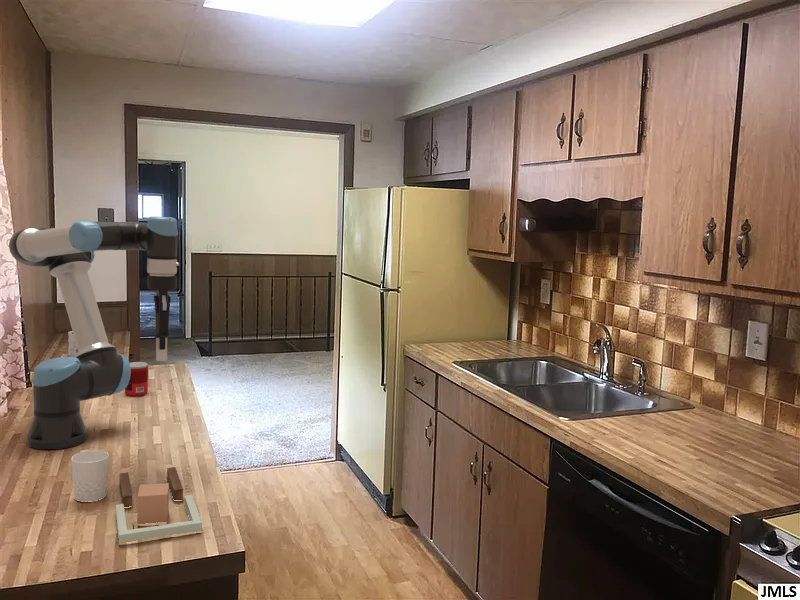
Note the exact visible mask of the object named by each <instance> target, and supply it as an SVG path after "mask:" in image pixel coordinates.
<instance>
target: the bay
mask: <svg viewBox="0 0 800 600" xmlns="http://www.w3.org/2000/svg"><path fill="white" fill-rule="evenodd" d="M183 501H184V503H183V504H185V506H184V508H185V507H186V509H185V511H186V510H187V512H188V515H189V518H190V521H189V520H186V521H181V522H179V521H178V522H174V523H167V524H166V525H159V526H147V527H138V528H134V529H128V526H127V518H126V512H125V511H126V510H125V509H124V504H122V503H120V504H115V521H116V520H117V522H116V529H118V532H117V538H119V541H118V544H119V543H124V542H131V541H136V540H142V539H148V538H154V537H158V536H165V535H173V534H180V533H187V532H195V531H196V532H197V531H202V532H203V521H202V518H201V517H200V516H201V515H200V513H199V511H198V508H197V505H196V502H195V499H194V497H193V495H192V494H188V495H187V494H186V495H184V496H183ZM187 512H186V513H187ZM188 515H187V516H188ZM189 518H188V519H189Z"/></svg>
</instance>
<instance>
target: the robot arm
mask: <svg viewBox="0 0 800 600" xmlns="http://www.w3.org/2000/svg"><path fill="white" fill-rule="evenodd" d="M178 235H179V232H178V220H177V218H174V217H169V216H167V217H166V216H149V217H148V218H147V223H146V222H139V221H93V220H80V221H75V222H74V223H72V224H71V225H65V226H60V227H27V228H23V229H20V230H18V231H16V232H14V233H13V235H12V236H11V237H10V239H9V242H8V243H9V244H8V248H9V249H8V250H9V253H10V254H11V256H12V257H13V259H15V260H16V261H17V262H19V263H20V264H22V265H25V266H29V267H37V268H38V267H48V271H49V274H50V275H51V276H52V277H54V278H56V279H57V281H58V285H59V288H60V292H61V295H62V299H63V303H64V306H65V310H66V313H67V316H68V320H69V322H70V326H71V329H72V331H73V334H74V337H75V341H76V344H77V348H78V353H77V355H76V356H75V357H68V356H63V357H61V356H60V357H59V356H58V357H53V358H49V359H47V360H43V361H42V362H39V363H37V365H36V366H35V367H34V369H33V375H32V385H33V389H32V390H33V418H32V422H31V424H30V427H29V429H28V433H27V436H26V443H27V444H28V445H29V446H31V447H34V448H38V449H37V450H41V449H55V450H64V449H68V448H72V447H77V446H78V445H81V444H83V443H84V442H86V441H87V439H88V430H87V428H86V424H85V422H84V419H83V417H82V414H81V402H82V401H88V400H93V399H96V398H101V397H106V396H107V397H108V396H112V395H114V394H118V393H121V392H124V391H125V388H126V387H127V385H128V383H129V380H130V375H131V368H130V363H131V362H130V361H129V359H128V357H126V356H125V355H124V354H122V353H118V351H117V347H116V345H115V346H114V345H113V344H112V343H109V339H108V336H107V332H106V329H105V326H104V322H103V319H102V315H101V312H100V309H99V305H98V302H97V300H96V296H95V292H94V290H93V285H92V282H91V279H90V276H89V275H90V274H89V271H90V269H91V267H92V263H93V261H94V259H95V257H96V256H95V252H97V251H147V258H146V261H147V262H146V272H147V273H148V276H147V278H146V279H147V280H146V285H147V286H146V287H147V289H148V290H152V291H156V293H155V294H156V295H153V301H154V312H155V317H154V318H155V329H154V331H155V334H154V338H155V346H156V347H155V361H156V362H166V361H168V337H169V336H170V333H169V325H170V309H171V299H172V298H171V296H170V295H169V291H174V290H176V289H178V276H177V275H176V274H177V272H178V266H180V262H178V243H179V242H178V241H179V240H178V239H179V237H178ZM85 440H86V441H85ZM28 445H27V446H28ZM29 446H28V447H29ZM31 447H30V448H31ZM34 448H33V449H34ZM63 448H64V449H63Z"/></svg>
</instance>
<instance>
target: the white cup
mask: <svg viewBox="0 0 800 600" xmlns="http://www.w3.org/2000/svg"><path fill="white" fill-rule="evenodd" d="M109 457H110V454H109V453H108V451H105V450H97V449H94V450H93V449H92V450H85V451H84V450H83V451H81V452H78V453H75V454H73V455H72V456H71V461H70V462H71V474H72V475H71V478H72V488H73V498H75V499H76V500H79V501H84V502H85V501H87V502H88V501H95V500H99V499H101V498H103V497H105V498H106V497H107V485H108V482H109V481H108V480H109V479H108V478H109ZM75 499H74V500H75ZM103 499H104V498H103ZM76 500H75V501H76ZM99 501H100V500H99Z"/></svg>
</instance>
